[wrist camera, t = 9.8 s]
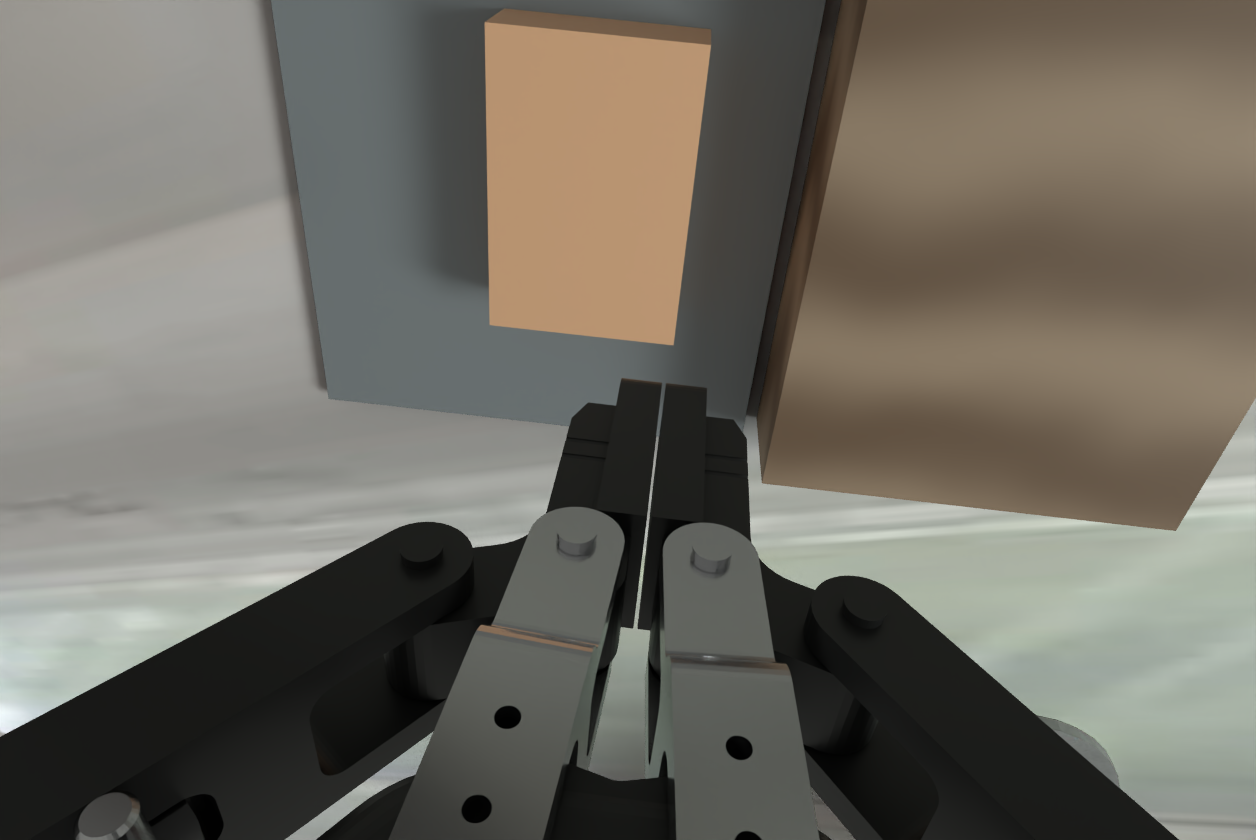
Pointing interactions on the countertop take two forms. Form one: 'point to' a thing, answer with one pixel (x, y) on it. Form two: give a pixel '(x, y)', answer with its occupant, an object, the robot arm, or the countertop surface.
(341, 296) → the slate mat
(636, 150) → the tan rectangular block
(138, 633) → the countertop surface
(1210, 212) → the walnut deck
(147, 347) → the countertop surface
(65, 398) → the countertop surface
